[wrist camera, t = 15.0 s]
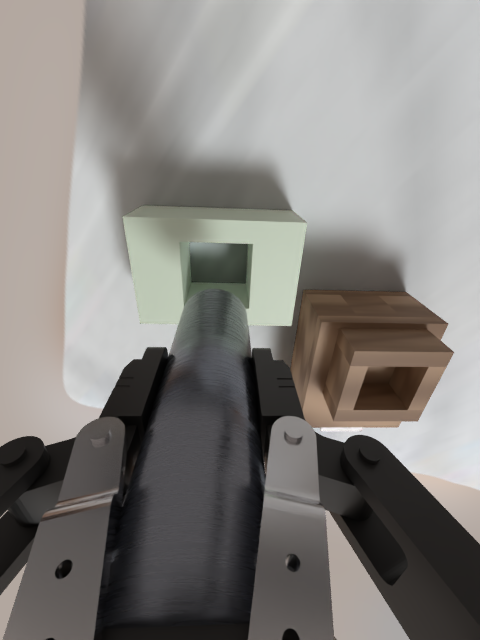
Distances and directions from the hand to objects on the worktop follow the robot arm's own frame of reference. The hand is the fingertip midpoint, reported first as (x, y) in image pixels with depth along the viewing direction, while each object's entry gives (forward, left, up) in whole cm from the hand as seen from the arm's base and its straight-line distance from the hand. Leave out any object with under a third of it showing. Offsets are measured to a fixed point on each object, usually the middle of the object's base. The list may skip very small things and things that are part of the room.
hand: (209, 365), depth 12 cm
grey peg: (0, 0, -4) cm, 4 cm away
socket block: (+9, +13, -15) cm, 22 cm away
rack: (0, 0, -15) cm, 15 cm away
